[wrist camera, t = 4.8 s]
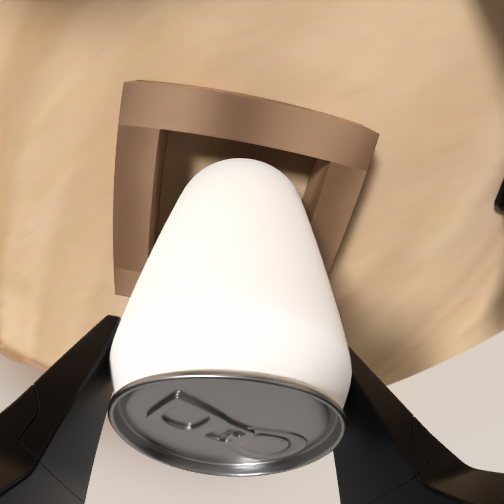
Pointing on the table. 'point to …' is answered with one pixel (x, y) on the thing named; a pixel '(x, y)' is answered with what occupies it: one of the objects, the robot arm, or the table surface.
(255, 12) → the table surface
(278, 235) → the can
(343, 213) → the wooden square frame
